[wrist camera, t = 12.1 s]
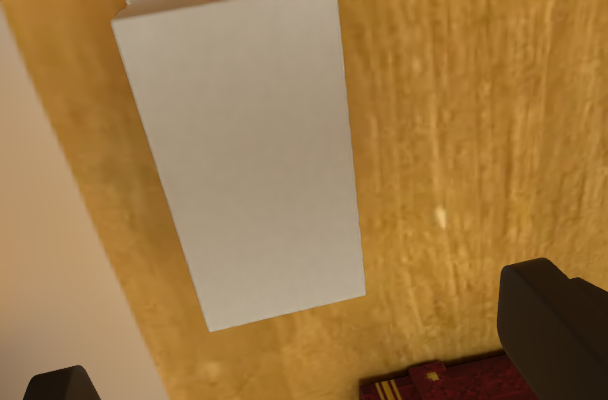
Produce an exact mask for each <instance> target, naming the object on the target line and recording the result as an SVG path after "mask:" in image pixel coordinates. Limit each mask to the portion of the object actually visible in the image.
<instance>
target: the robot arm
mask: <svg viewBox="0 0 608 400" xmlns="http://www.w3.org/2000/svg"><path fill="white" fill-rule="evenodd" d="M497 330H498V335H499V339H500V342H501V344H502V346H503V349H504V351H505V352H506V354H507V356H508V357H509V359H510V360H511V361H512V363H513V364H514V365H515V367H516V368H517V370H518V371H519V372H520V374H521V375H522V377H523V378H524V379H525V381H526V382H527V384H528V385H529V386H530V388H531V389H532V391H533V392H534V393H535V395H536V396H537V398H538V399H539V400H608V292H607V291H605V290H603V289H601V288H599V287H597V286H595V285H593V284H591V283H589V282H587V281H585V280H583V279H581V278H579V277H577V278H573V279H569V278H568V277H567V276H566V275H565V274H564V273H563V272H562V271H561V270H559V269H558V268H557V267H556V266H555V265H554V264H553V263H552V262H551V261H550V260H548V259H546V258H537V259H533V260H528V261H524V262H520V263H516V264H511V265H507V266H505V267H503V269H502V271H501V277H500V290H499V302H498V315H497ZM23 400H101V399H100V397H99V395H98V393H97V391H96V389H95V388H94V386H93V384H92V382H91V380H90V378H89V376H88V374H87V372H86V370H85V369H84V368H83V367H82V366H80V365H76V366H72V367H68V368H64V369H59V370H56V371H51V372H47V373H43V374H38V375H35V376H34V377H33V378H32V379H31V380H30V382H29V385H28V387H27V390H26V392H25V395H24V398H23Z"/></svg>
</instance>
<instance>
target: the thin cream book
mask: <svg viewBox="0 0 608 400" xmlns="http://www.w3.org/2000/svg"><path fill="white" fill-rule="evenodd" d="M110 24H111V27H112V30H113V33H114V36H115V40H116V43H117V46H118V49H119V52H120V55H121V58H122V62H123V65H124V68H125V71H126V74H127V77H128V80H129V84H130V87H131V90H132V93H133V96H134V99H135V102H136V106H137V109H138V112H139V115H140V118H141V121H142V124H143V128H144V131H145V134H146V137H147V140H148V143H149V146H150V150H151V153H152V156H153V159H154V162H155V165H156V168H157V172H158V175H159V178H160V181H161V184H162V187H163V190H164V194H165V197H166V200H167V203H168V206H169V209H170V212H171V216H172V219H173V222H174V225H175V228H176V231H177V234H178V237H179V241H180V244H181V247H182V250H183V253H184V256H185V259H186V263H187V266H188V269H189V272H190V275H191V278H192V281H193V285H194V288H195V291H196V294H197V297H198V300H199V303H200V307H201V310H202V313H203V316H204V319H205V322H206V325H207V329H208V331H209V332H213V331H217V330H222V329H226V328H230V327H234V326H238V325H243V324H247V323H251V322H255V321H259V320H264V319H268V318H272V317H276V316H280V315H285V314H289V313H293V312H297V311H301V310H306V309H310V308H314V307H318V306H322V305H327V304H331V303H335V302H339V301H343V300H348V299H352V298H356V297H360V296H364V295H366V284H365V274H364V264H363V253H362V243H361V233H360V222H359V212H358V202H357V192H356V181H355V171H354V161H353V150H352V140H351V130H350V120H349V109H348V99H347V89H346V78H345V68H344V58H343V48H342V37H341V27H340V17H339V6H338V0H172V1H166V2H160V3H154V4H149V5H143V6H137V7H131V8H125V9H121V10H120V11H119V12H118V13H117V14H116V15H115V17H114V18H113V19H112V20H111V23H110Z"/></svg>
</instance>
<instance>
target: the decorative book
mask: <svg viewBox="0 0 608 400" xmlns="http://www.w3.org/2000/svg"><path fill="white" fill-rule="evenodd" d="M360 395H361V400H539V399H538V398H537V396H536V395H535V393H534V392H533V391H532V389H531V388H530V386H529V385H528V384H527V382H526V381H525V379H524V378H523V377H522V375H521V374H520V372H519V371H518V370H517V368H516V367H515V365H514V364H513V363H512V361H511V360H510V359H509V357H508V356H507V355H503V356H498V357H493V358H489V359H484V360H480V361H475V362H471V363H466V364H461V365H457V366H452V367H448V368H445V366H444V365H443V363H442V361H440V362H436V363H431V364H426V365H422V366H417V367H413V368H408V376H406V377H402V378H397V379H393V380H388V381H384V382H379V383H374V384H370V385H365V386H361V387H360Z"/></svg>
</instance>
